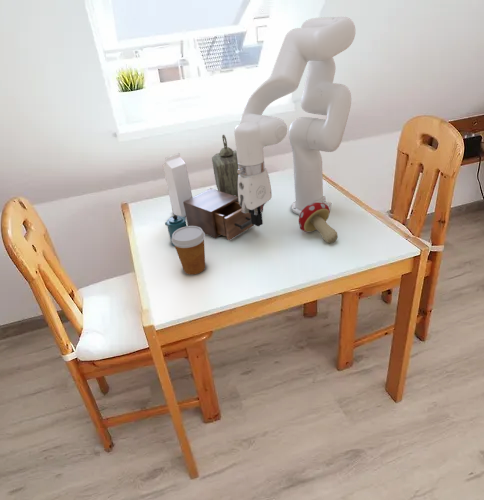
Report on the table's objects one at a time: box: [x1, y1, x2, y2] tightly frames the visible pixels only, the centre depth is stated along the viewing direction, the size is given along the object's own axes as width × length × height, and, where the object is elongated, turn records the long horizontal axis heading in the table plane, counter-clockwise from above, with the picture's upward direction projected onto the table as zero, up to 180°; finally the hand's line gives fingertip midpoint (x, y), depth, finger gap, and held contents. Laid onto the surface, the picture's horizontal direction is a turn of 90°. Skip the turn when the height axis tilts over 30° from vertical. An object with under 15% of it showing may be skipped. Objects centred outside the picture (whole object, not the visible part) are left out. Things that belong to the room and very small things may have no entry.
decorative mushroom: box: [298, 202, 339, 244], centre depth 136 cm, size 11×11×15 cm
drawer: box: [213, 201, 255, 241], centre depth 144 cm, size 17×11×8 cm
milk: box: [162, 152, 193, 218], centre depth 156 cm, size 6×6×22 cm
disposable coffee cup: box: [170, 225, 206, 276], centre depth 126 cm, size 10×10×12 cm
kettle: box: [164, 214, 188, 247], centre depth 141 cm, size 11×6×10 cm, turn 47°
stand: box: [183, 187, 239, 239], centre depth 149 cm, size 14×13×10 cm
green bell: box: [211, 134, 239, 197], centre depth 160 cm, size 14×9×25 cm, turn 13°
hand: (257, 224), depth 135 cm, fingers closed
